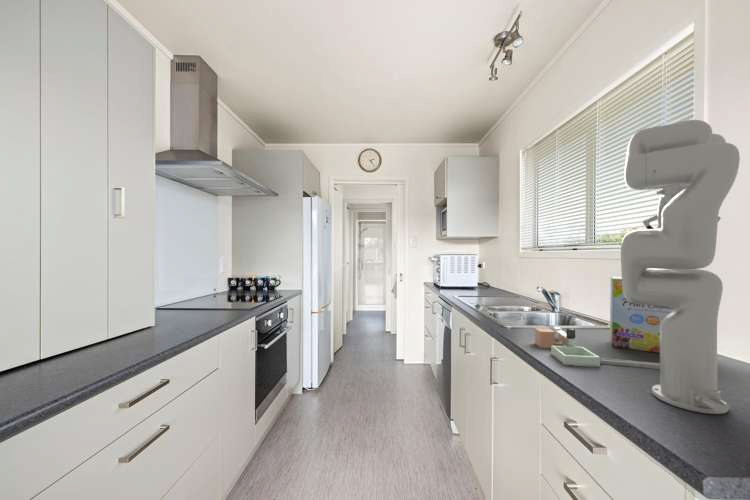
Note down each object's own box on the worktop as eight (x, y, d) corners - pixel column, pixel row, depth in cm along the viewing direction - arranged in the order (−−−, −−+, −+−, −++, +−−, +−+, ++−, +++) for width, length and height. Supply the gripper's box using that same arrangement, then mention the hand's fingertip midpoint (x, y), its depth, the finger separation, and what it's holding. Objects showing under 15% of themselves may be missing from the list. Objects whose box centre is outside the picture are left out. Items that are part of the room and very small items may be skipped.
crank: (546, 337, 120) (546, 319, 120) (558, 337, 119) (558, 319, 119) (565, 350, 104) (565, 329, 104) (579, 351, 103) (579, 330, 103)
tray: (599, 366, 93) (599, 357, 93) (564, 365, 94) (564, 355, 94) (582, 355, 103) (582, 346, 103) (551, 354, 104) (551, 345, 104)
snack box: (611, 347, 111) (611, 277, 111) (609, 341, 118) (608, 275, 118) (695, 358, 99) (694, 280, 99) (686, 351, 106) (686, 278, 106)
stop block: (554, 348, 111) (554, 332, 111) (540, 347, 111) (540, 331, 111) (549, 344, 116) (549, 328, 116) (535, 343, 116) (535, 328, 116)
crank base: (567, 345, 114) (567, 342, 114) (550, 344, 115) (550, 342, 115) (560, 340, 120) (560, 338, 120) (543, 340, 121) (543, 337, 121)
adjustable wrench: (594, 364, 96) (594, 359, 96) (589, 358, 102) (589, 352, 102) (700, 377, 86) (700, 370, 86) (688, 368, 92) (688, 363, 92)
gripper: (642, 193, 99) (642, 246, 99) (722, 185, 87) (722, 245, 87) (643, 196, 104) (643, 246, 104) (718, 189, 92) (718, 245, 92)
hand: (679, 245), depth 96 cm, fingers open, 9 cm apart
